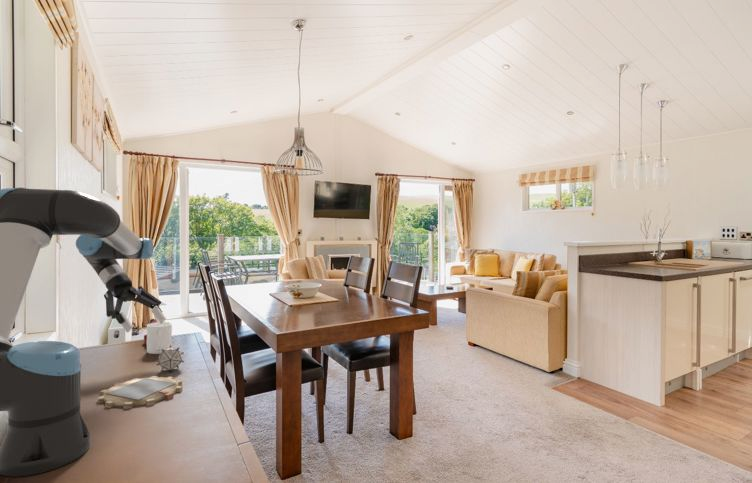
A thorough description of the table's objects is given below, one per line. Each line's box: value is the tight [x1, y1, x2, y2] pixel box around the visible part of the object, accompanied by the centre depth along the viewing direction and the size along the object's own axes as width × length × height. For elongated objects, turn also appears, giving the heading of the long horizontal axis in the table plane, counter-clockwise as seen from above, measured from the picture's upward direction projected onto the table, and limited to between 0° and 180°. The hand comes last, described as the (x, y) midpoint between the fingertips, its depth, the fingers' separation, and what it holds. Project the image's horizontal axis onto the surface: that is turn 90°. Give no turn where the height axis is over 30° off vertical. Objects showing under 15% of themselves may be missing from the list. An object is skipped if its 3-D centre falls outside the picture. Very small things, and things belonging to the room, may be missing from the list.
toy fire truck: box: [143, 318, 158, 347], centre depth 168 cm, size 7×12×10 cm, turn 39°
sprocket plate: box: [97, 375, 183, 410], centre depth 118 cm, size 21×21×1 cm
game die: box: [155, 345, 185, 374], centre depth 137 cm, size 9×8×10 cm
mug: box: [146, 321, 173, 355], centre depth 157 cm, size 9×12×11 cm
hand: (147, 325), depth 141 cm, fingers open, 13 cm apart
